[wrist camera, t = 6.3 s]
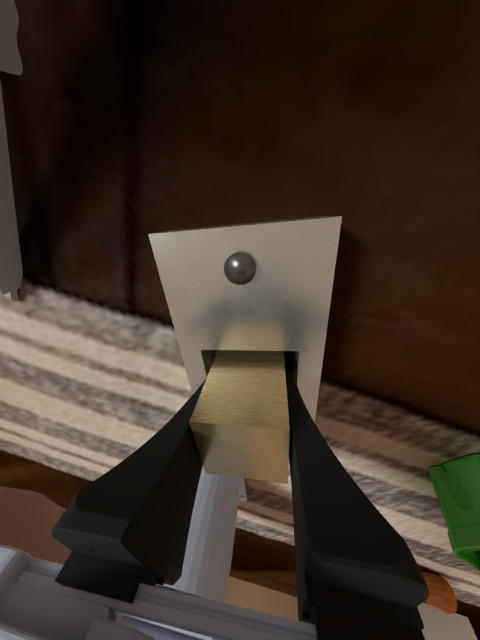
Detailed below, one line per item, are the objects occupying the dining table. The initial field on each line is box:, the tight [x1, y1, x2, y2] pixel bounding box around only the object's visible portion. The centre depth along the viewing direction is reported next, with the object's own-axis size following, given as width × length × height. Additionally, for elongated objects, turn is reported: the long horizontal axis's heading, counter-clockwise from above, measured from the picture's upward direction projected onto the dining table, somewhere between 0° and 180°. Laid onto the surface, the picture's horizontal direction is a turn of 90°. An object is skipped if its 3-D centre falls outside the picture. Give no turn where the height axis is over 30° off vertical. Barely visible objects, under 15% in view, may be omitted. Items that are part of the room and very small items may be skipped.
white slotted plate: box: [148, 216, 342, 470], centre depth 13 cm, size 18×8×3 cm, turn 5°
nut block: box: [189, 350, 290, 484], centre depth 11 cm, size 4×4×5 cm
